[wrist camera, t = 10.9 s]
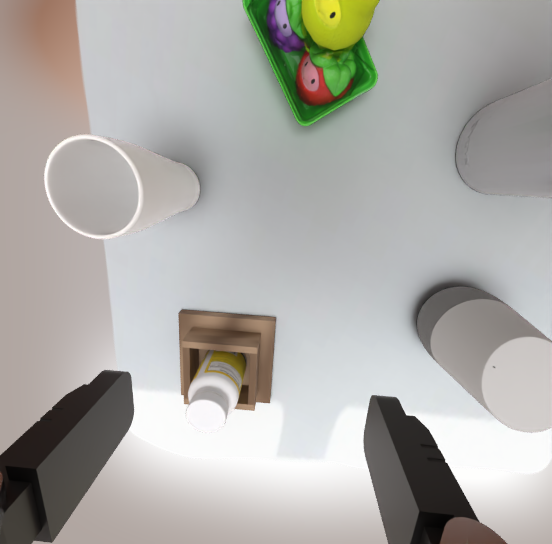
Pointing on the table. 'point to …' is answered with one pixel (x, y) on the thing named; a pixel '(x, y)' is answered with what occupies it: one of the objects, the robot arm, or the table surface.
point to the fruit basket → (316, 51)
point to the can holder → (229, 349)
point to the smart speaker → (491, 355)
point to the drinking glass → (115, 186)
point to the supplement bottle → (215, 390)
